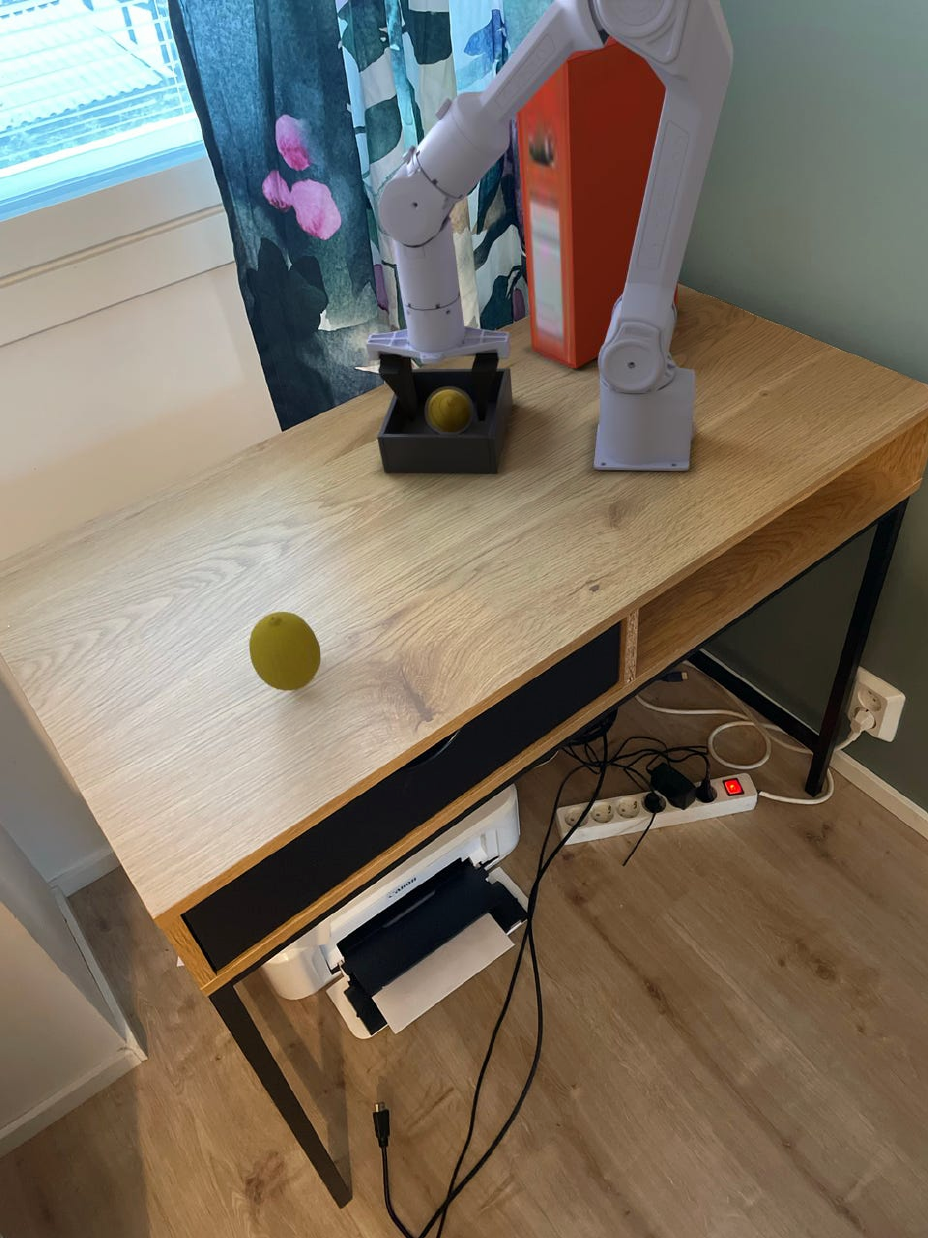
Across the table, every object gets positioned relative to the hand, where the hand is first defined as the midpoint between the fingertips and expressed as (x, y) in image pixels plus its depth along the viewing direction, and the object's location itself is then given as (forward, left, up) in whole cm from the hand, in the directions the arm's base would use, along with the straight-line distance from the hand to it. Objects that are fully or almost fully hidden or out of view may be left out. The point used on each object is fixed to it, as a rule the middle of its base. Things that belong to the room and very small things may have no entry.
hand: (447, 415), depth 97 cm
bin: (0, 0, -3) cm, 3 cm away
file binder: (-15, -23, -3) cm, 28 cm away
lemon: (+7, +36, -3) cm, 37 cm away
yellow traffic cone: (-1, 0, -2) cm, 3 cm away
